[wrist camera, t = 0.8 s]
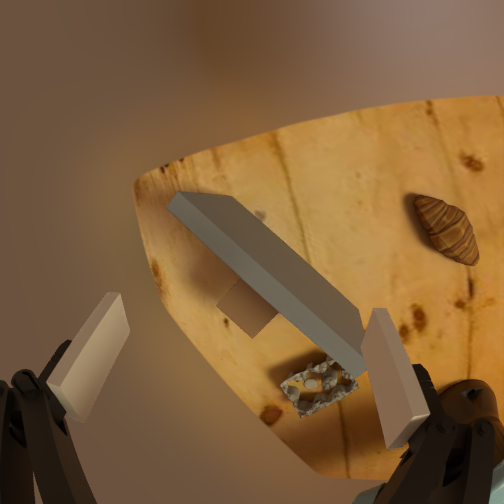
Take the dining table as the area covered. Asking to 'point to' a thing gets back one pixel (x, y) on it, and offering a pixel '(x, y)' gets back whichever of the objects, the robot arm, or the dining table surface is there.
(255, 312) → the wall board
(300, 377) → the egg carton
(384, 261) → the dining table surface
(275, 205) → the dining table surface
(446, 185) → the dining table surface
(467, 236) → the croissant
